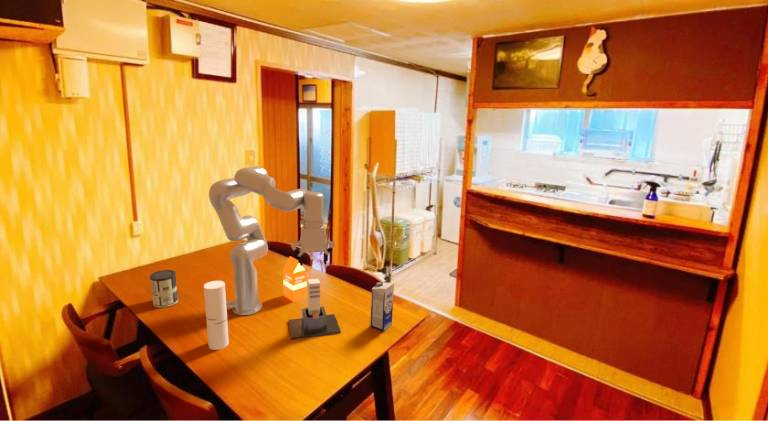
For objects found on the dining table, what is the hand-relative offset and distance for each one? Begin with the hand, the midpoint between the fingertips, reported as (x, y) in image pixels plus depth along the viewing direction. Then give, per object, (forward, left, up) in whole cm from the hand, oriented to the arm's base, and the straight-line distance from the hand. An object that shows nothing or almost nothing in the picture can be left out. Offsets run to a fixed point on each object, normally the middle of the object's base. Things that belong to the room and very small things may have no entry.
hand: (313, 263), depth 153 cm
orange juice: (-5, +30, -29) cm, 42 cm away
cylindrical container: (-37, -3, -29) cm, 47 cm away
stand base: (0, 0, -29) cm, 29 cm away
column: (0, 0, -22) cm, 22 cm away
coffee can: (-63, +38, -29) cm, 79 cm away
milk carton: (+28, -6, -29) cm, 41 cm away
